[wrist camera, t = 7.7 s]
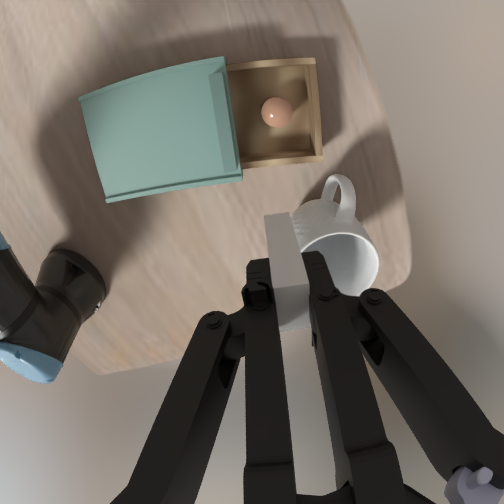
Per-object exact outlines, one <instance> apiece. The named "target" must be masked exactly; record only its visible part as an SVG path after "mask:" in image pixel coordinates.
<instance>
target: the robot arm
mask: <svg viewBox="0 0 504 504" xmlns="http://www.w3.org/2000/svg"><path fill="white" fill-rule="evenodd" d="M264 221H265V229H266V237H267V245H268V253H269V258H264V259H256V260H250V262H249V263H248V265H247V267H246V274H247V275H246V279H247V284H246V285H245V286H244V287H243V288H242V292H241V293H242V297H243V302H244V307H243V308H242V309H240V310H239V311H237V312H235V313H233V314H230V315H227V314H225V313H224V312H220V311H212V312H210V313H207V314H205V315H204V316H203V317H202V318H201V319H200V321H199V323H198V325H197V327H196V329H195V331H194V334H193V336H192V338H191V340H190V342H189V345H188V347H187V349H186V351H185V354H184V356H183V358H182V360H181V362H180V365H179V367H178V369H177V371H176V374H175V376H174V378H173V380H172V383H171V385H170V387H169V390H168V392H167V394H166V396H165V399H164V401H163V403H162V405H161V408H160V410H159V413H158V415H157V417H156V419H155V422H154V424H153V426H152V429H151V431H150V433H149V436H148V438H147V440H146V443H145V445H144V447H143V450H142V452H141V454H140V457H139V459H138V462H137V464H136V466H135V469H134V471H133V473H132V476H131V478H130V481H129V483H128V485H127V487H126V488H125V489H124V490H123V491H122V492H121V493H120V494H119V495H118V496H117V497H116V498H115V499H114V500H113V501H112V502H111V503H110V504H194V503H195V500H196V498H197V495H198V492H199V489H200V486H201V483H202V480H203V476H204V473H205V470H206V467H207V464H208V461H209V458H210V455H211V452H212V449H213V446H214V443H215V440H216V436H217V433H218V430H219V427H220V424H221V420H222V417H223V414H224V411H225V408H226V405H227V401H228V398H229V395H230V392H231V388H232V385H233V382H234V379H235V375H236V372H237V369H238V365H239V362H240V358H241V357H244V356H245V390H246V391H245V393H246V394H245V397H246V465H245V467H244V476H243V478H244V479H243V480H244V481H243V484H244V485H243V486H244V504H436V503H434V502H432V501H431V500H429V499H428V498H426V497H425V496H423V495H422V494H420V493H419V492H417V491H416V490H414V489H413V488H411V487H410V486H408V485H406V484H404V483H403V479H402V475H401V470H400V466H399V461H398V458H397V454H396V450H395V448H394V446H393V444H392V443H391V442H389V441H388V439H387V437H386V434H385V430H384V426H383V422H382V419H381V415H380V411H379V408H378V404H377V401H376V397H375V394H374V390H373V387H372V384H371V380H370V377H369V374H368V371H367V367H366V364H365V361H364V358H363V355H364V356H365V358H366V360H367V361H368V363H369V364H370V366H371V367H372V369H373V370H374V372H375V373H376V375H377V376H378V378H379V380H380V381H381V383H382V384H383V386H384V387H385V389H386V390H387V392H388V393H389V395H390V397H391V398H392V400H393V401H394V403H395V405H396V406H397V408H398V409H399V411H400V413H401V414H402V416H403V417H404V419H405V421H406V422H407V424H408V425H409V427H410V429H411V430H412V432H413V433H414V435H415V437H416V439H417V440H418V442H419V443H420V445H421V447H422V448H423V450H424V452H425V453H426V455H427V457H428V459H429V460H430V462H431V463H432V465H433V466H434V468H435V469H436V471H437V472H438V473H439V474H440V475H441V476H442V477H443V478H444V479H445V480H446V481H447V485H446V488H445V492H444V494H445V497H446V498H447V499H448V500H449V502H450V504H498V502H499V500H500V499H501V497H502V496H503V494H504V435H503V434H502V433H500V432H499V431H497V430H496V429H494V428H493V426H492V425H491V423H490V422H489V420H488V419H487V418H486V416H485V415H484V413H483V412H482V410H481V409H480V408H479V406H478V405H477V404H476V402H475V401H474V400H473V398H472V397H471V395H470V394H469V393H468V391H467V390H466V389H465V387H464V386H463V385H462V383H461V382H460V381H459V379H458V378H457V377H456V376H455V374H454V373H453V372H452V370H451V369H450V368H449V367H448V365H447V364H446V363H445V362H444V360H443V359H442V358H441V356H440V355H439V354H438V353H437V352H436V350H435V349H434V348H433V347H432V345H431V344H430V343H429V342H428V341H427V339H426V338H425V337H424V336H423V335H422V334H421V332H420V331H419V330H418V329H417V328H416V326H415V325H414V324H413V323H412V322H411V321H410V320H409V318H408V317H407V316H406V315H405V314H404V313H403V311H402V310H401V309H400V308H399V307H398V306H397V305H396V304H395V303H394V301H393V300H392V299H391V298H390V297H389V296H388V295H387V293H385V292H384V291H383V290H380V289H376V288H370V289H366V290H364V291H363V292H362V293H361V294H360V296H350V295H345V294H343V293H341V292H340V291H339V289H338V288H336V287H335V285H334V282H333V280H332V277H331V274H330V272H329V269H328V266H327V264H326V261H325V258H324V256H323V255H322V254H321V253H320V252H319V251H310V252H302V253H301V252H300V248H299V245H298V241H297V238H296V234H295V231H294V227H293V224H292V221H291V217H290V214H289V212H287V213H279V214H272V215H265V216H264ZM105 295H106V290H105V285H104V282H103V279H102V277H101V276H100V274H99V272H98V271H97V270H96V268H95V267H94V266H93V265H92V264H91V263H90V262H89V261H88V260H86V259H85V258H84V257H82V256H81V255H79V254H77V253H75V252H72V251H69V250H63V249H60V250H55V251H53V252H51V253H50V254H49V255H48V256H47V257H46V259H45V260H44V261H43V263H42V265H41V268H40V271H39V274H38V277H37V280H36V284H35V286H34V284H33V283H32V281H31V280H30V278H29V277H28V275H27V274H26V272H25V271H24V269H23V268H22V266H21V264H20V263H19V261H18V259H17V258H16V256H15V254H14V253H13V251H12V249H11V246H10V245H8V243H7V242H6V240H5V238H4V237H3V235H2V233H1V232H0V360H1V361H2V362H3V363H4V364H6V366H8V367H9V368H10V369H12V370H13V371H15V372H16V373H18V374H19V375H21V376H23V377H25V378H27V379H30V380H32V381H35V382H38V383H43V384H48V383H51V382H53V381H54V380H55V378H56V377H57V375H58V373H59V371H60V370H61V368H62V367H63V363H64V361H65V358H66V356H67V354H68V352H69V349H70V347H71V345H72V343H73V341H74V339H75V337H76V335H77V333H78V330H79V328H80V326H81V325H82V324H83V323H84V322H85V321H86V320H87V319H88V318H89V317H91V316H92V315H93V314H94V313H95V312H96V311H98V309H99V308H100V307H101V305H102V303H103V301H104V299H105ZM310 323H311V328H312V346H314V349H315V354H316V359H317V364H318V369H319V375H320V379H321V385H322V390H323V395H324V401H325V406H326V412H327V418H328V424H329V430H330V436H331V442H332V448H333V455H334V461H335V469H336V476H335V477H336V487H337V491H334V492H332V493H329V494H327V495H324V496H314V495H302V494H297V493H296V482H295V472H294V461H293V451H292V441H291V431H290V421H289V411H288V402H287V393H286V384H285V375H284V366H283V357H282V348H281V340H280V332H282V331H290V330H297V329H303V328H310ZM362 354H363V355H362Z"/></svg>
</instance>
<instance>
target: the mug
mask: <svg viewBox="0 0 504 504" xmlns="http://www.w3.org/2000/svg"><path fill="white" fill-rule="evenodd" d="M338 184H339V185H340V188H341V202H340V204H338V203H336V202H333V198H334V195H335V192H336V189H337V186H338ZM355 210H356V195H355V190H354V186H353V184H352V182H351V181H350V180H349V179H348V178H347V177H345V176H343V175H340V174H333V175H331V176H329V178H328V179H327V181H326V183H325V186H324V188H323V192H322V195H321V198H320V199H315V200H311V201H308V202H306V203H304V204H303V205H301V206H300V207H299V208H298V209H297V210H296V211H295V212H294V214H293V215H292V217H291V221H292V224H293V227H294V231H295V234H296V238H297V241H298V245H299V248H300V252H301V253H302V252H310V251H319V252H320V253H321V254H322V255H323V256H324V258H325V261H326V264H327V266H328V269H329V272H330V274H331V277H332V280H333V282H334V285H335V287H336V288H338V289H339V291H340V292H341V293H343V294H345V295H350V296H360V294H361V293H362V292H363V291H364V290H366V289H369V287H370V286H371V285H372V284H373V282H374V280H375V278H376V276H377V274H378V270H379V255H378V252H377V250H376V248H375V246H374V244H373V242H372V240H371V239H370V237H369V235H368V233H367V232H366V231H365V229H364V228H363V226H362V224H361V223H360V222H359V221H358V219H357V218H356V217H355Z"/></svg>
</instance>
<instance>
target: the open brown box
mask: <svg viewBox="0 0 504 504" xmlns="http://www.w3.org/2000/svg"><path fill="white" fill-rule="evenodd" d="M226 70H227V77H228V83H229V90H230V97H231V104H232V110H233V117H234V124H235V131H236V137H237V144H238V151H239V158H240V164H241V169H248V168H257V167H266V166H275V165H286V164H298V163H310V162H323V152H322V133H321V117H320V104H319V92H318V81H317V72H316V62H315V58H288V59H273V60H262V61H252V62H244V63H236V64H229V65H226ZM272 96H277V97H281V98H283V99H284V100H286V101H287V102H288V103H289V104H290V105H291V107H292V110H293V116H292V119H291V120H290V122H289V123H288V124H287V125H285V126H283V127H272V126H270V125H268V124H267V123H266V122H265V121H264V120H263V118H262V114H261V105H262V103H263V102H264V100H266V99H267V98H269V97H272Z"/></svg>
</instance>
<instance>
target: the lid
mask: <svg viewBox="0 0 504 504" xmlns="http://www.w3.org/2000/svg"><path fill="white" fill-rule="evenodd" d="M226 63H227V61H226V58H225V57H224V56H220V57H214V58H208V59H203V60H198V61H193V62H188V63H184V64H179V65H175V66H171V67H167V68H163V69H159V70H155V71H152V72H148V73H145V74H141V75H138V76H135V77H132V78H129V79H126V80H122V81H120V82H117V83H114V84H111V85H108V86H105V87H103V88H100V89H97V90H95V91H92V92H90V93H87V94H85V95H82V96H80V97H78V101H79V102H80V103H81V107H82V112H83V116H84V121H85V125H86V129H87V133H88V137H89V141H90V145H91V149H92V152H93V156H94V160H95V163H96V167H97V170H98V173H99V177H100V180H101V183H102V186H103V189H104V193H105V196H106V199H105V201H106V203H111V202H115V201H120V200H125V199H131V198H136V197H141V196H146V195H152V194H158V193H163V192H169V191H175V190H181V189H188V188H194V187H201V186H208V185H215V184H222V183H230V182H238V181H242V177H243V169H241V164H240V158H239V151H238V144H237V137H236V131H235V124H234V117H233V110H232V104H231V97H230V90H229V83H228V77H227V70H226Z"/></svg>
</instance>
